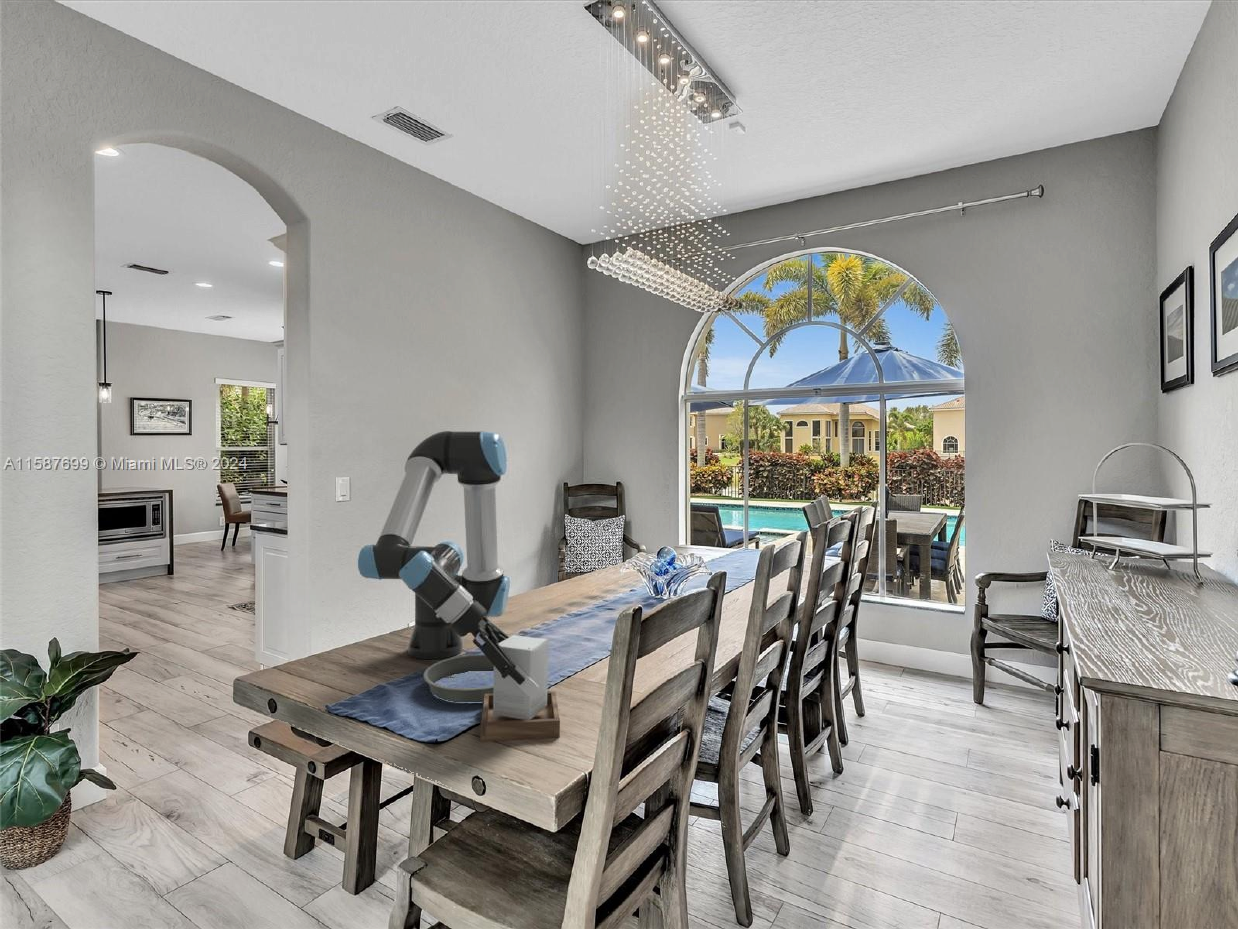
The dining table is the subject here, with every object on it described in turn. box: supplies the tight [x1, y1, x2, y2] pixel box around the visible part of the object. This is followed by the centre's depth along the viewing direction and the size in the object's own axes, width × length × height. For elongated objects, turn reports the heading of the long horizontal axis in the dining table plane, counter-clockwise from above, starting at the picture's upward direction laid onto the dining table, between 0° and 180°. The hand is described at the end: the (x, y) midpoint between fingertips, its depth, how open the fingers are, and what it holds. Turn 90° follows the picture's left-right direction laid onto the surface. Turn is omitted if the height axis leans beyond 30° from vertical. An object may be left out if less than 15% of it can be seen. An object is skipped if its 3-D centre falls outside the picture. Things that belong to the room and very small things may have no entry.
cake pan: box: [422, 653, 494, 702], centre depth 158 cm, size 25×25×4 cm
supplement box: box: [493, 634, 549, 720], centre depth 138 cm, size 9×9×15 cm
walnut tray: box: [480, 690, 561, 742], centre depth 138 cm, size 16×16×4 cm
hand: (533, 680), depth 138 cm, fingers closed on supplement box, 12 cm apart
